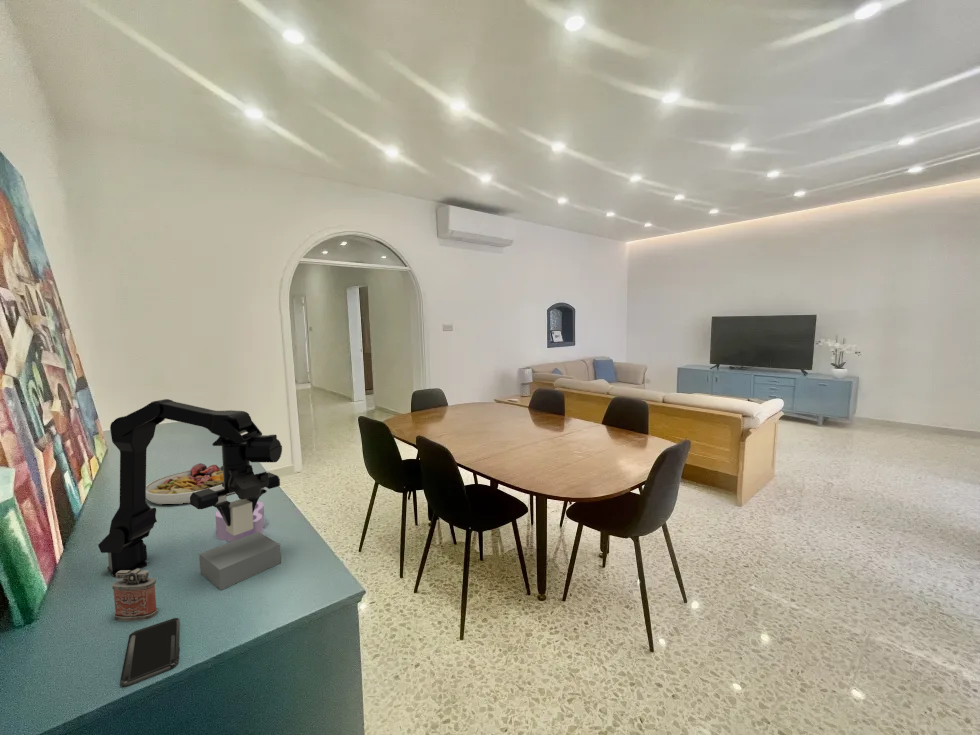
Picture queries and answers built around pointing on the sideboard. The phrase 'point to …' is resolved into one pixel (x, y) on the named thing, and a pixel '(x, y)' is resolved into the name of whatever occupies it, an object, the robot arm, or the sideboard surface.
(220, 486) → the bowl
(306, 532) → the sideboard surface
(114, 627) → the sideboard surface
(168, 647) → the phone
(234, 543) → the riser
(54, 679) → the sideboard surface
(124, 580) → the lighter
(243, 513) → the block
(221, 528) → the clip
